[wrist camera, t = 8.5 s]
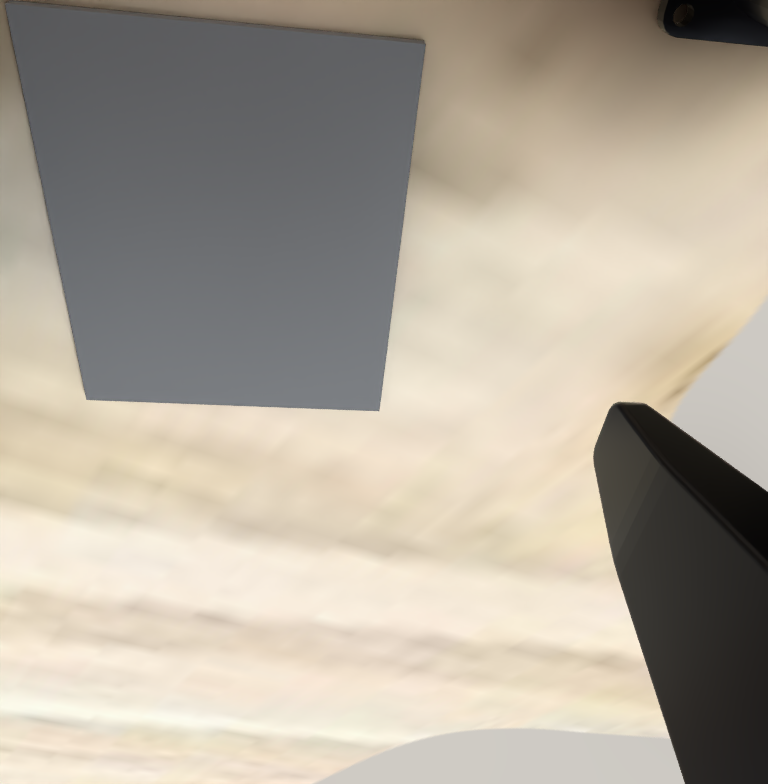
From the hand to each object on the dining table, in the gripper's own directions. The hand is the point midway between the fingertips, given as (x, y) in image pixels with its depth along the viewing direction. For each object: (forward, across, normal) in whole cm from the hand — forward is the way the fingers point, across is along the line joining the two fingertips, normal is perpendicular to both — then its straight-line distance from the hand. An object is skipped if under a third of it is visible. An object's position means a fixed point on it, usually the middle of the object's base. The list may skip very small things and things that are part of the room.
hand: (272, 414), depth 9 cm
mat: (+12, +2, +4) cm, 13 cm away
